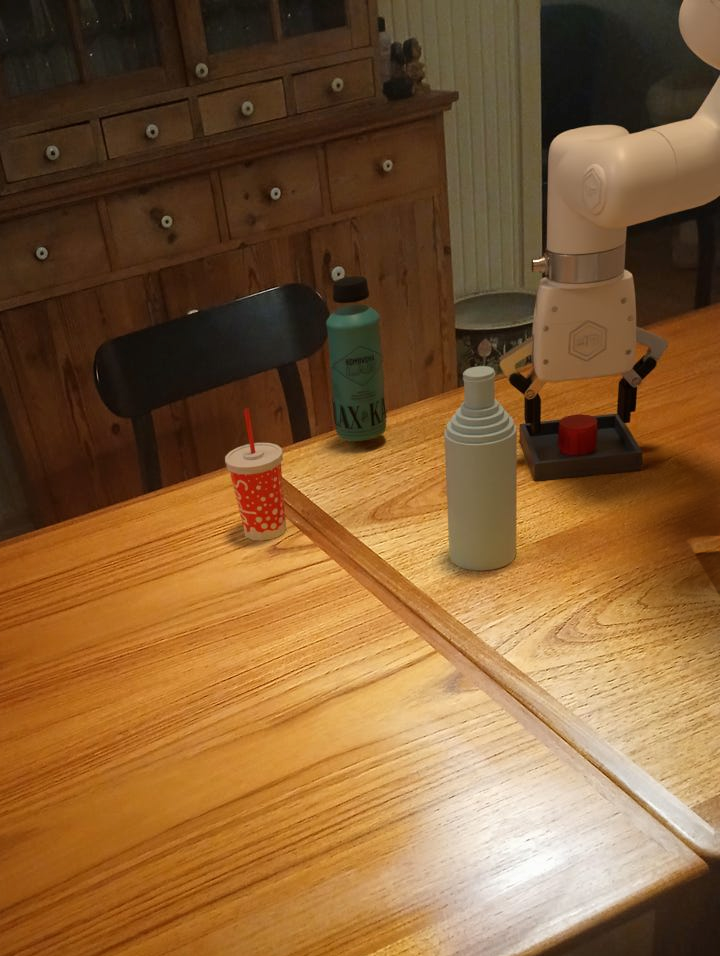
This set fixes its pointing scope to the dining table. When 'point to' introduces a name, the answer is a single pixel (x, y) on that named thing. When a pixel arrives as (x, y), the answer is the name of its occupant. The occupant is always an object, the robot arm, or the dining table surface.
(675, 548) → the dining table surface
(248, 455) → the beverage cup
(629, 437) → the dish
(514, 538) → the water bottle
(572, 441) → the cap
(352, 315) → the beverage bottle
